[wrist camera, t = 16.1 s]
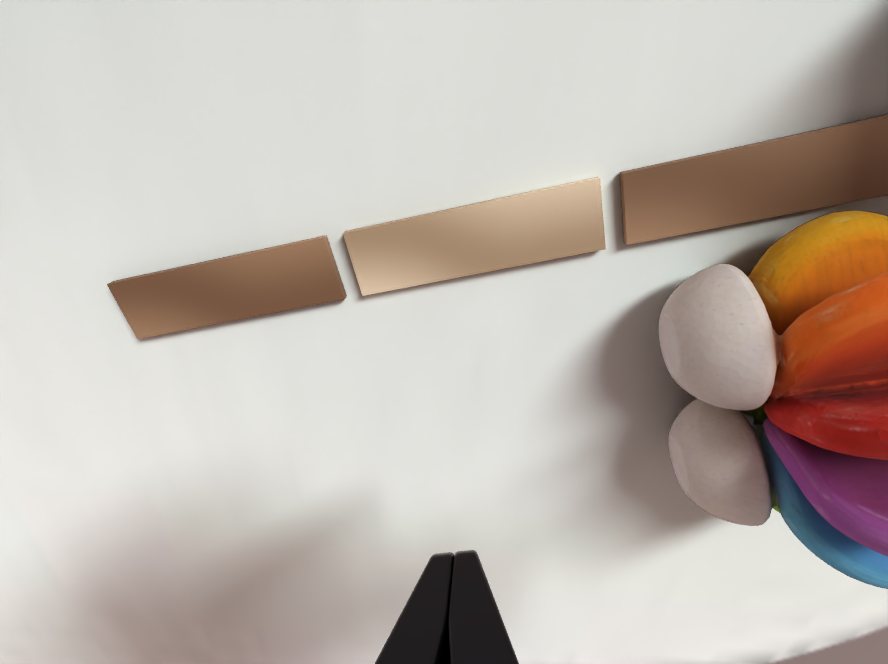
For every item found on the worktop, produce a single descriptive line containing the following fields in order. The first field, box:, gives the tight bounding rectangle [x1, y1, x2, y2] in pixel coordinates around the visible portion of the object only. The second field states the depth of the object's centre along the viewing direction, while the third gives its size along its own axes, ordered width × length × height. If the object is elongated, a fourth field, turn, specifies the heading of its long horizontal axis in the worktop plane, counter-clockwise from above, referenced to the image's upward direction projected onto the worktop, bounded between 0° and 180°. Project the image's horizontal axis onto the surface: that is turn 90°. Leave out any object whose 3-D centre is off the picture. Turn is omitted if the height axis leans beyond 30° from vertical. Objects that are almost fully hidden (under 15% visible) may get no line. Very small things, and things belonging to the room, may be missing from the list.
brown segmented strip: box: [107, 115, 888, 339], centre depth 14 cm, size 2×23×1 cm, turn 103°
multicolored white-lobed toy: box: [659, 211, 888, 589], centre depth 12 cm, size 8×10×7 cm
